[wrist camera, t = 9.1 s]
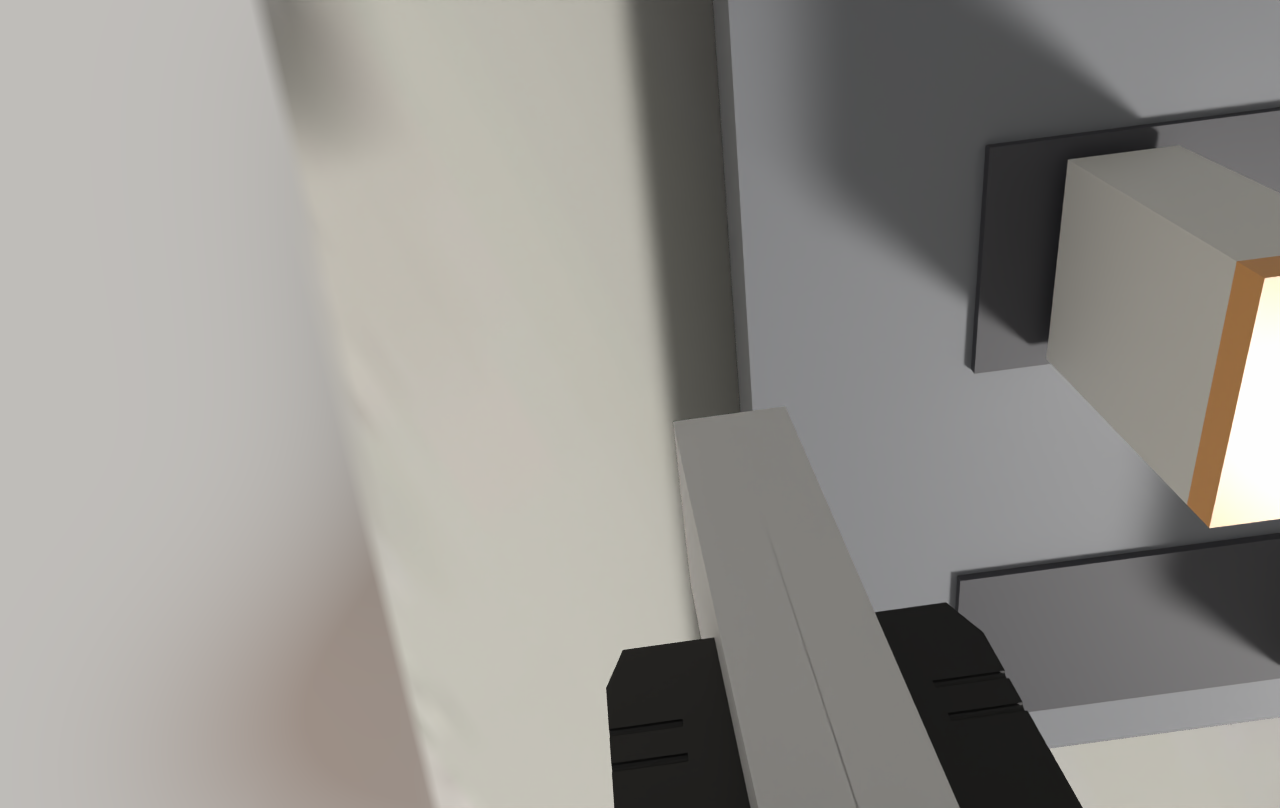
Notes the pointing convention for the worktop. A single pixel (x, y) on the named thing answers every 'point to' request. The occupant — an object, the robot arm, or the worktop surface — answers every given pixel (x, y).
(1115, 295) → the handle
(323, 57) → the worktop surface
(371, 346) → the worktop surface
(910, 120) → the breaker panel
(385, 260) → the worktop surface
